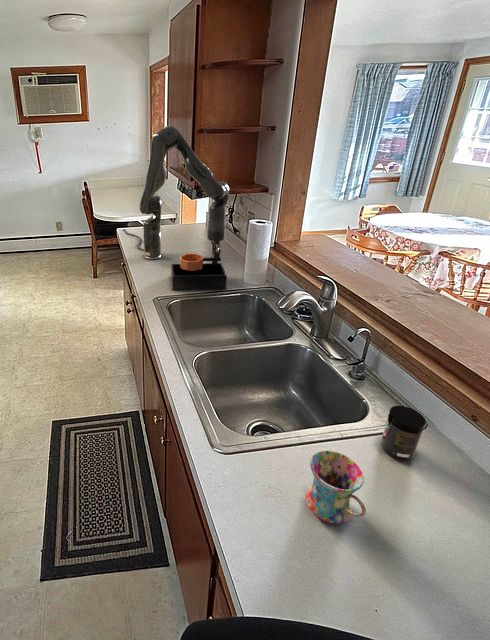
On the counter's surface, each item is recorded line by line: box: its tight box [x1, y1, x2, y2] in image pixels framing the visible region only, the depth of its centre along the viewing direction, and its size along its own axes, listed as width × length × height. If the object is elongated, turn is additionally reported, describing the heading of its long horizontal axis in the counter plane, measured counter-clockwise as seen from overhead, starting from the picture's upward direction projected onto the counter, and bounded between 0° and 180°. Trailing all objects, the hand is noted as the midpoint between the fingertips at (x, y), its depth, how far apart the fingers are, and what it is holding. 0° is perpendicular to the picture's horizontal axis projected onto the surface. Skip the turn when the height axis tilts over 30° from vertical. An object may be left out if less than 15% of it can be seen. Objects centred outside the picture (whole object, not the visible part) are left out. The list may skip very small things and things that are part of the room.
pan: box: [179, 253, 222, 271], centre depth 176 cm, size 18×10×4 cm, turn 86°
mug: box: [304, 450, 367, 525], centre depth 77 cm, size 12×9×11 cm
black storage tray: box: [170, 262, 227, 291], centre depth 179 cm, size 15×24×7 cm, turn 86°
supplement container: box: [380, 405, 427, 461], centre depth 90 cm, size 7×7×10 cm
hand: (214, 265), depth 177 cm, fingers closed on pan
